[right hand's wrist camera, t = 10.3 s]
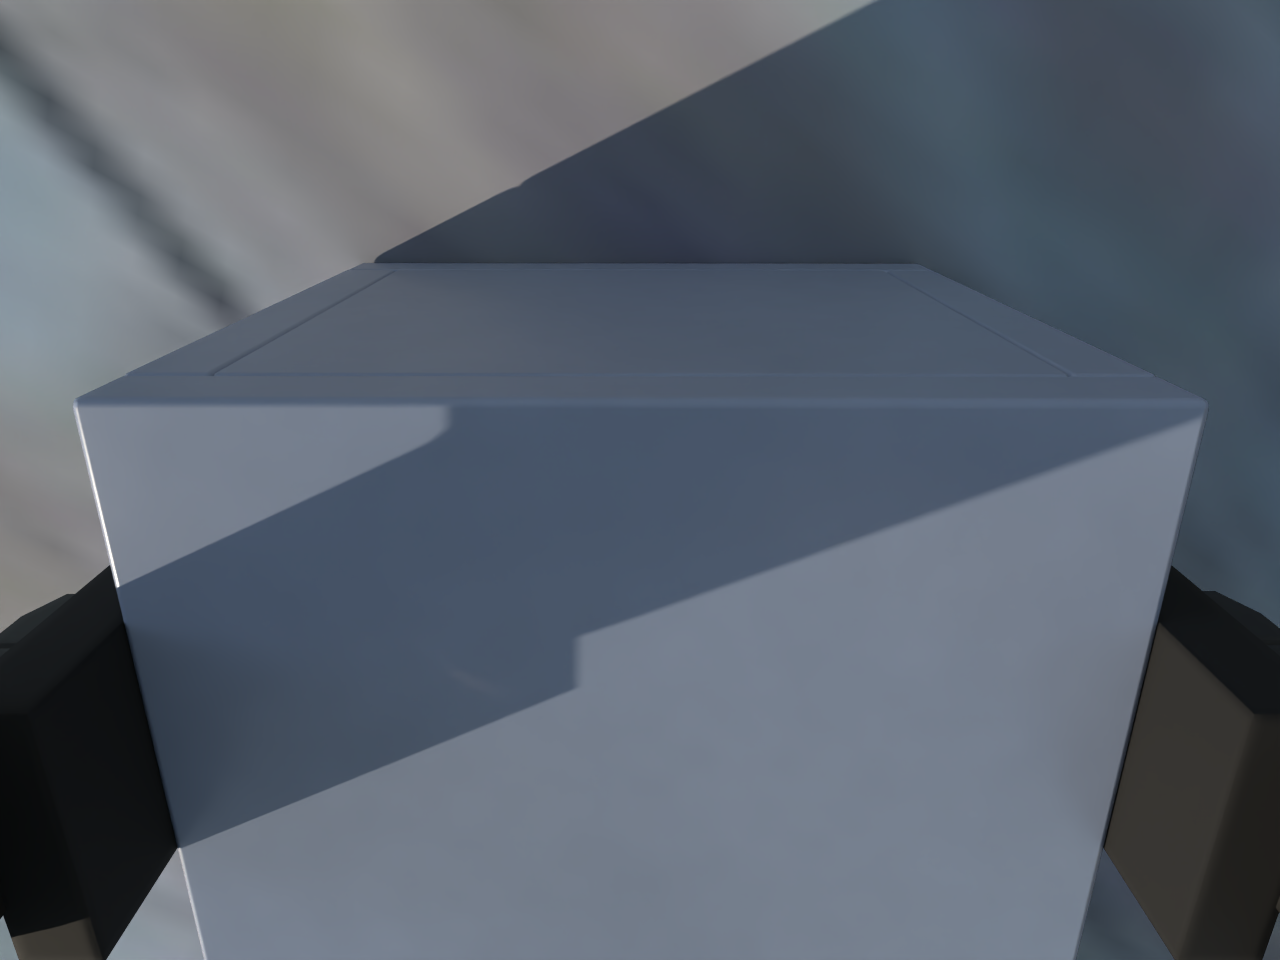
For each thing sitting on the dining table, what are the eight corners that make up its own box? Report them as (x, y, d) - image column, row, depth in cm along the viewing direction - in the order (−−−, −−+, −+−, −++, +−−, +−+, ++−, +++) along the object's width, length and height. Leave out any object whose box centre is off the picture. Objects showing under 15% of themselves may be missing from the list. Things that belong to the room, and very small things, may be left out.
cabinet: (831, 1052, 22) (936, 1551, 15) (447, 1052, 22) (342, 1551, 15) (920, 263, 15) (1216, 400, 8) (360, 262, 15) (65, 397, 8)
